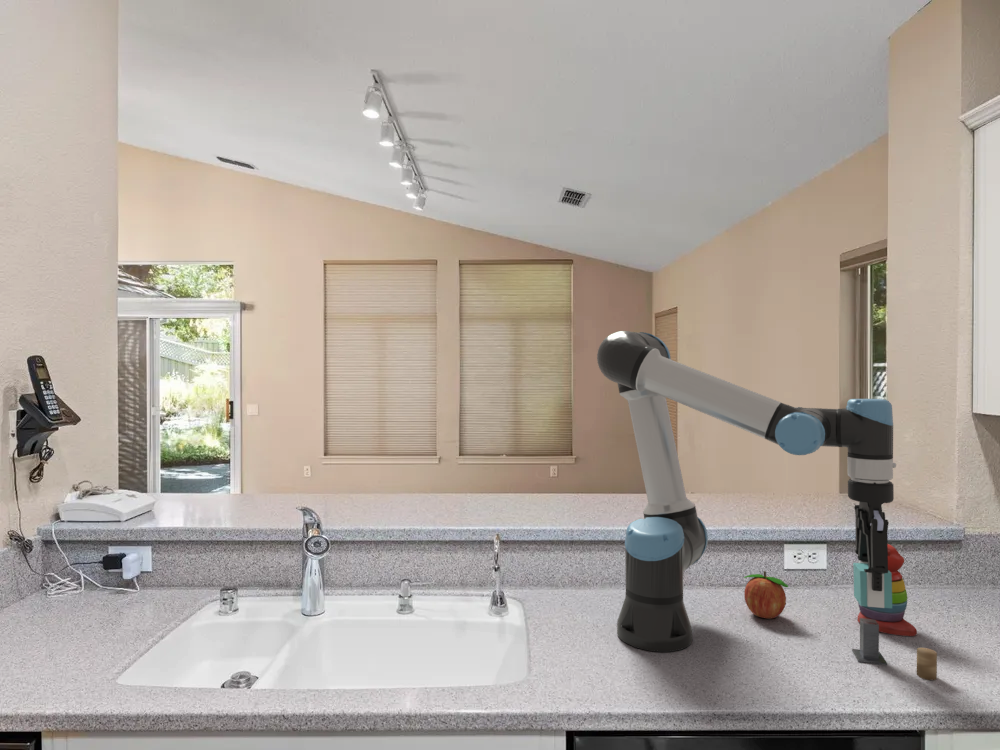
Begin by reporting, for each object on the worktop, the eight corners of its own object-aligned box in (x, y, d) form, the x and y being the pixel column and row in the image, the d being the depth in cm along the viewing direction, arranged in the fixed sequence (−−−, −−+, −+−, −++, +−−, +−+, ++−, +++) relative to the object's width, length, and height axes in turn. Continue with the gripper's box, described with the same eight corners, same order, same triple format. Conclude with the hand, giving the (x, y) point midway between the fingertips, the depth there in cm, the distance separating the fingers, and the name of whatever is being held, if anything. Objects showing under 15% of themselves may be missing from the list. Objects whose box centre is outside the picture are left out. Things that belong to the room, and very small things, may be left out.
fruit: (775, 627, 134) (775, 581, 134) (734, 614, 141) (734, 570, 141) (794, 617, 139) (794, 572, 139) (753, 604, 147) (754, 562, 146)
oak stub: (920, 678, 112) (920, 653, 112) (914, 671, 115) (914, 646, 115) (939, 681, 111) (939, 656, 111) (933, 673, 114) (933, 648, 114)
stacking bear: (920, 637, 129) (921, 551, 128) (866, 633, 131) (867, 548, 130) (898, 617, 139) (899, 537, 139) (848, 613, 141) (849, 535, 141)
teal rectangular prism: (860, 606, 118) (860, 571, 118) (854, 596, 123) (853, 562, 123) (892, 608, 116) (891, 572, 116) (884, 598, 121) (883, 564, 121)
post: (858, 661, 118) (858, 624, 118) (852, 650, 123) (852, 615, 123) (887, 665, 117) (887, 628, 117) (879, 653, 121) (879, 618, 121)
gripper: (908, 489, 110) (909, 621, 110) (878, 472, 127) (879, 586, 127) (860, 487, 112) (861, 617, 112) (837, 471, 129) (838, 583, 129)
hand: (871, 600), depth 120 cm, fingers closed on teal rectangular prism, 5 cm apart
